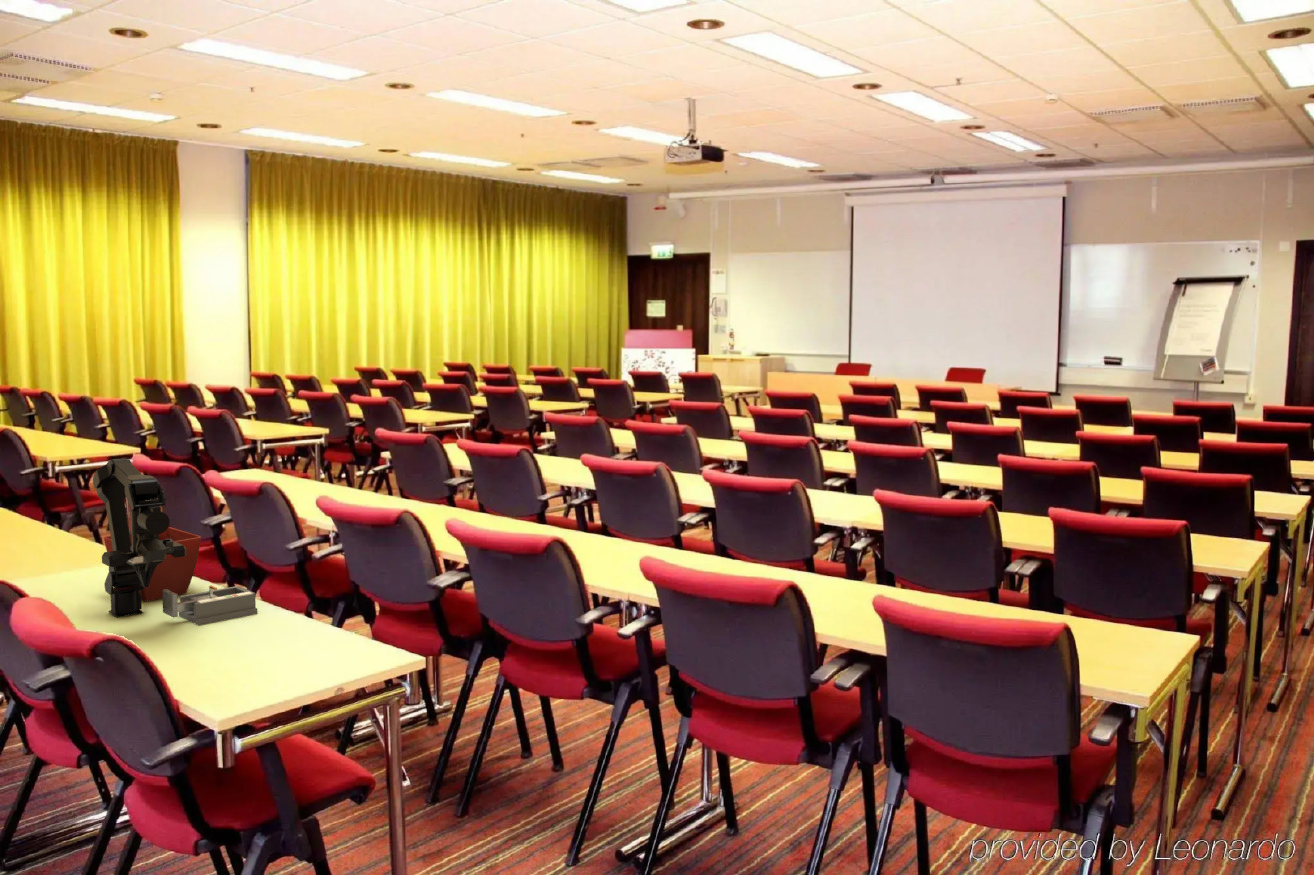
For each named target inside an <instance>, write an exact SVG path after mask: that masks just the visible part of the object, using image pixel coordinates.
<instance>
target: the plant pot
mask: <svg viewBox="0 0 1314 875" xmlns="http://www.w3.org/2000/svg"><path fill="white" fill-rule="evenodd" d="M130 538H131V544H132V535H130ZM159 538H160V540H165V539H172V540H173V543H174V542H177V543H179V544H182V545H184V546H185V548H186V556H183V557H176V558H175V557H173V556H172V555H171V554H168V555H166V557H165V559H164V561H163V562H162V563H159V564H158V565H157V567H156V568H155V570H154V572H153V575H152V578H151V581H150V583H149V586H148V587H146V588H144V590H139V594H141V602H151V601H155V600H160V599H163V598H162V590H165V589H168V590H170V591H172V592H174V593H176V594H177V596H180V595H182V594H183V595H184V594H186V593H187V591H188V590H189V587H190V584H191V582H192V578H193V577H194V573H195V569H196V567H197V566H196V565H197V562H198V558H199V552H200V546H201V541H202V540H201V539H202V537H201V535H197V534H193V533H191V532H188V531H183V530H180V529H178V528H173V527H171V526H169V527H168V528H167V530H166V531H165V532H163V533H161V534H159ZM103 540H104V545H105V550H106V552H109V551H113V548H112V542H111V535H106V536H104V537H103ZM140 555H141V554H140ZM137 556H138V555H137Z"/></svg>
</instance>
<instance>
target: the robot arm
mask: <svg viewBox="0 0 1314 875" xmlns="http://www.w3.org/2000/svg"><path fill="white" fill-rule="evenodd" d="M92 484H93V488H94V489H95V490H96V495H97V497H98V498H99V499H100V500H101V501H102V502H103V503H104V505H105V509H106V515H107V522H108V528H109V534H110V535H109V536H111V542H112V548H113V551H109V552H107V551H105V552H104V553H103V554H102V555H101V564H103V565H105V566H107V567H108V573H107V575H106V579H105V581H104V591H105V593H107V594H109V595H110V610H108V613H109V614H111V615H112V616H114V617H116V618H122V617H128V616H133V615H139V614H142V613H143V610H142V601H141V594H139V590H144V588H146V587H148V586H149V583H150V581H151V578H152V575H153V572H154V570H155V568H156V567H157V565H158V564H159V563H162V562H163V561H164V559H165V557H166V555H168V554H171V555H172V556H173V557H175V558H176V557H183V556H186V548H185V546H184V545H182V544H179V543H177V542H174V543H173V540H172V539H165V540H160V538H159V534H161V533H163V532H165V531H166V530H167V528H168V527H170V523H171V522H170V520H171V519H170V518H169V516H168V515H167V514H166V513H165V512H163V511H162V507H163V506H164V507H165V506H166V501H167V498H166V495H165V493H164V492H165V491H164V489H163V487H162V485H161V483H160V481H158V479H157V478H156V477H155V476H152V475H148V474H147V475H146V474H142V473H141V472H140V471H139V470H138V469H137V468H136V467H135V466H134V465H133V464H132V461H131V460H130V459H129V458H128V459H127V458H113V459H110V460H107V463H106V464H104V465H103V466H101V467H98V469H96V471H95V472H94V475H93V477H92ZM125 499H126V500H127V502H128V506H129V507H130V516H131V517H130V521H131V523H130V524H131V525H130V526H131V530H130V528H129V519H128V514H127V508H126V502H125ZM130 535H132V544H131V538H130ZM140 554H141V555H140ZM137 555H138V556H137Z"/></svg>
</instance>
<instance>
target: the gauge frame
mask: <svg viewBox="0 0 1314 875" xmlns="http://www.w3.org/2000/svg"><path fill="white" fill-rule="evenodd" d="M213 594H214V595H216V596H218V597H217V598H211V599H206V600H200V601H197V602H198V603H194V611H192V610H188V611H183V612H178V617H180V618H183V619H184V620H187V621H189V622H191V623H193V624H194V623H195V624H194V625H197V626H203V625H208V624H211V623H218V622H222V621H224V622H225V621H228V619H229V620H233V619H238V618H243V617H247V616H254V615H258V607H256V604H257V603H256V602H257V601H256V593H255V592H254V591H251V590H249V589H247V588H244V587H242V586H240V585H235V586H230V587H224V588H219V589H218V588H217V590H213ZM203 595H209V590H207V591H202V592H201V591H200V592H196V593H190V594H185V595H184V594H183V595H179V602H184V601H190V598H192V597H198V596H203Z"/></svg>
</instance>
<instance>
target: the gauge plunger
mask: <svg viewBox="0 0 1314 875" xmlns="http://www.w3.org/2000/svg"><path fill="white" fill-rule="evenodd" d="M208 589H209V590H208V591H209V595H203V596H198V597H192V598H190V601H184V602H180V601H179V602H178V595H177V594H176V593H174V592H172V591H170V590H168V589H165V590H162V598H161V599H162V613H164V614H165V615H167V616H169V617H172V618H173V619H174V618H178V617H179V612H183V611H188V610H192V611H194V603H198V602H197V601H200V600H206V599H211V598H217V597H218V596H216V595H214V594H213V590H218V587H216V586H214V585H209V586H208Z"/></svg>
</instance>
